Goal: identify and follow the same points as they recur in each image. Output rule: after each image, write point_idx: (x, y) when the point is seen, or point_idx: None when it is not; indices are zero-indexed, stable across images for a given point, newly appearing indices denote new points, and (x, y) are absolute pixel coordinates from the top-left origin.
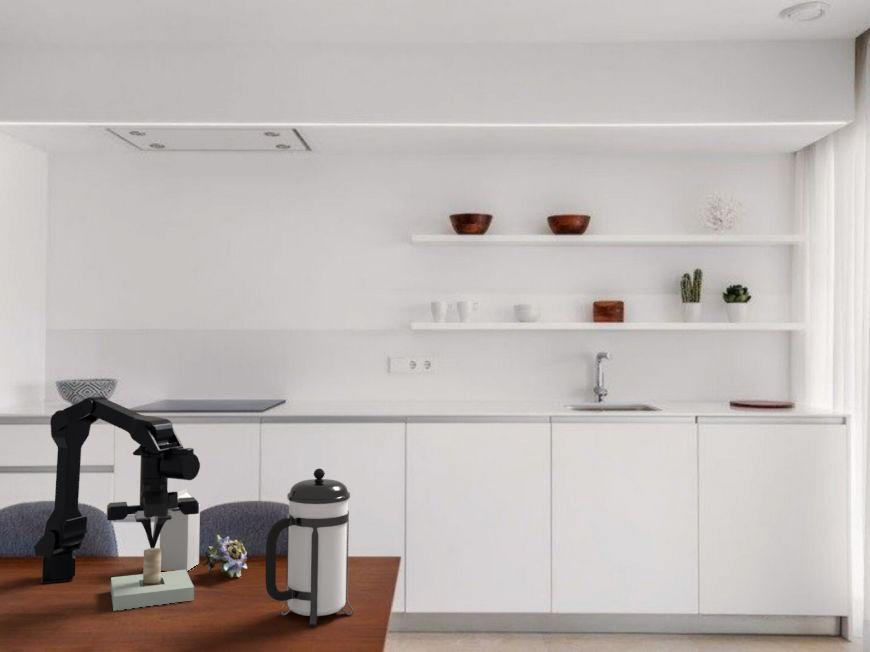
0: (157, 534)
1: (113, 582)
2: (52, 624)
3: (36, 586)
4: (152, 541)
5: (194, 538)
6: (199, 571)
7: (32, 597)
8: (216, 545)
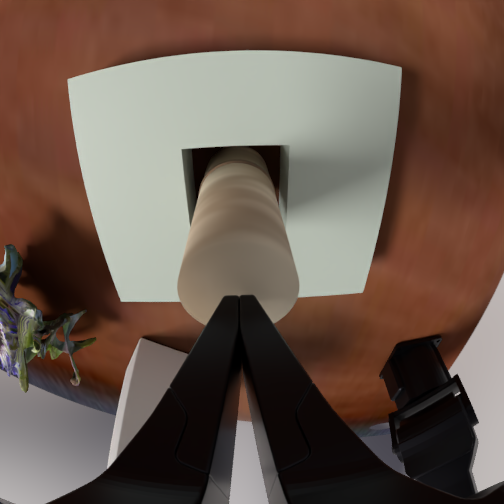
0: (192, 380)
1: (371, 241)
2: (501, 63)
3: (449, 327)
4: (243, 329)
5: (117, 421)
6: (114, 338)
7: (480, 271)
8: (15, 345)
